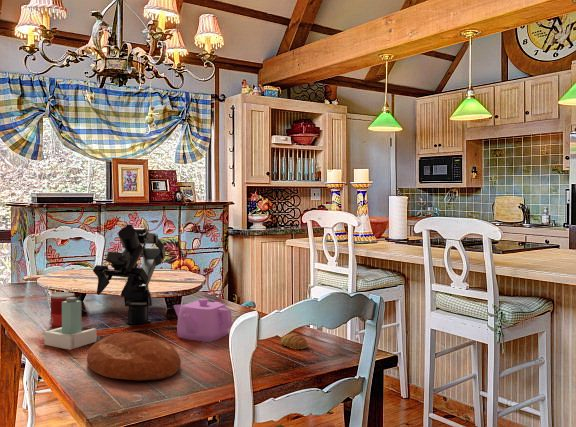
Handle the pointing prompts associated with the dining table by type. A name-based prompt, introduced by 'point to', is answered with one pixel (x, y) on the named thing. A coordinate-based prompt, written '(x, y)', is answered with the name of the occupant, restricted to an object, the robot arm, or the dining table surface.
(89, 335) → the cradle
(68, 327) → the post
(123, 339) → the bread
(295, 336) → the pastry
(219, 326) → the teakettle
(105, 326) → the dining table surface
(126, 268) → the robot arm
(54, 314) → the canned food
